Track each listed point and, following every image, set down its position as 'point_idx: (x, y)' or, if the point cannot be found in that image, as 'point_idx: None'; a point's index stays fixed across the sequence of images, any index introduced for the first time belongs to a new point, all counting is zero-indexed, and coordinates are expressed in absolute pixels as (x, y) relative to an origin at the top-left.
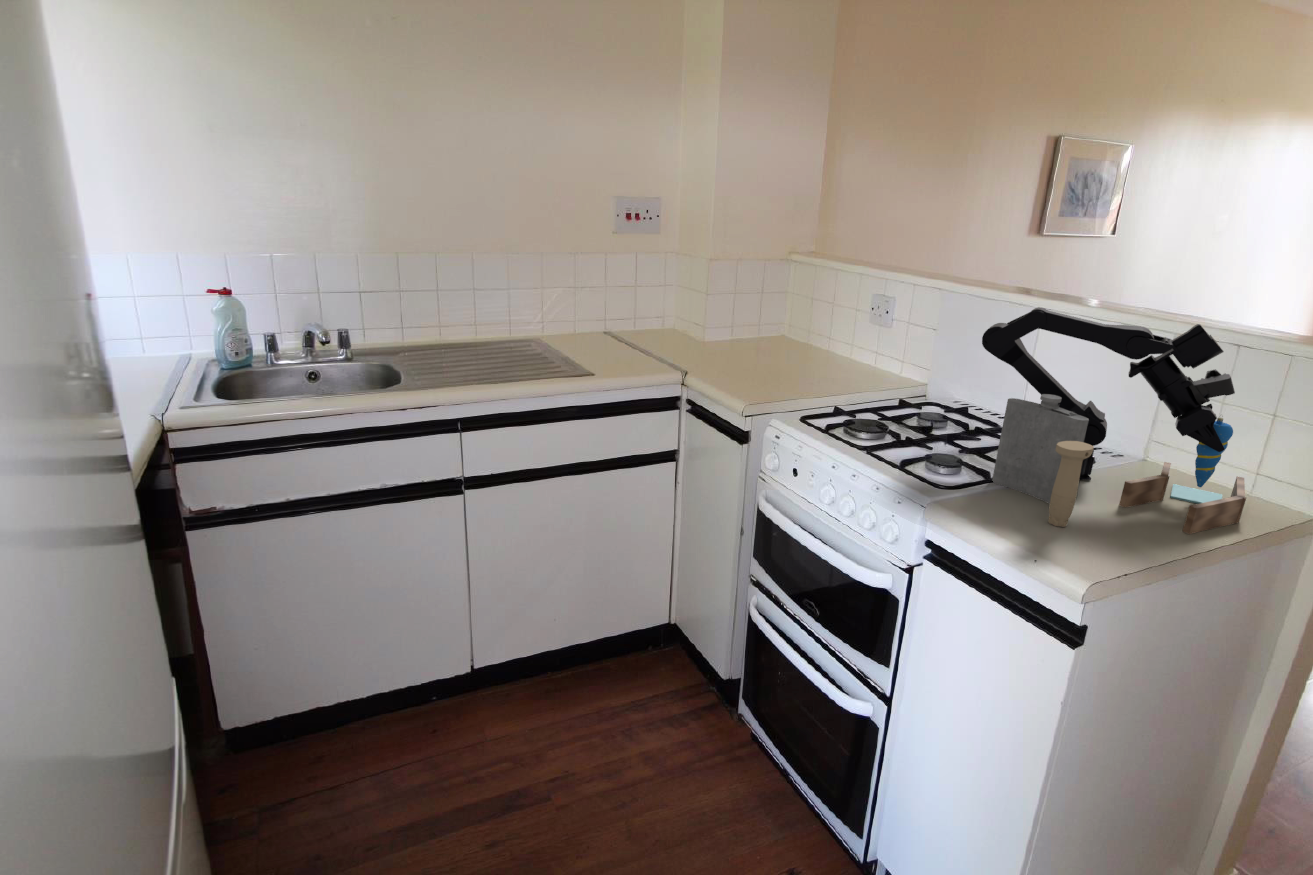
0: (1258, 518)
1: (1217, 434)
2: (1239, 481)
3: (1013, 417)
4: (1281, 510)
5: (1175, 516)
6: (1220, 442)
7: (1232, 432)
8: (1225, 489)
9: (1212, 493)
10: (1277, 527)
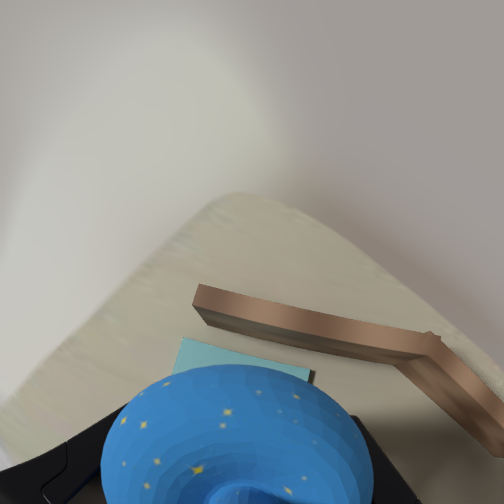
0: (334, 290)
1: (392, 501)
2: (256, 313)
3: None
4: (236, 219)
5: (422, 479)
6: (384, 457)
7: (305, 383)
8: (120, 308)
9: (188, 364)
10: (375, 263)
